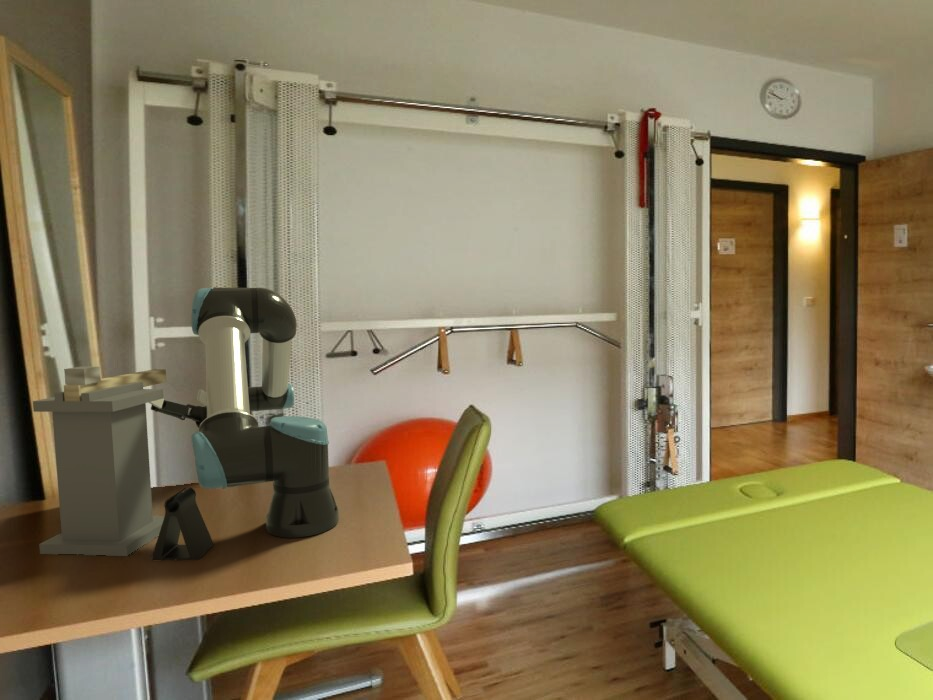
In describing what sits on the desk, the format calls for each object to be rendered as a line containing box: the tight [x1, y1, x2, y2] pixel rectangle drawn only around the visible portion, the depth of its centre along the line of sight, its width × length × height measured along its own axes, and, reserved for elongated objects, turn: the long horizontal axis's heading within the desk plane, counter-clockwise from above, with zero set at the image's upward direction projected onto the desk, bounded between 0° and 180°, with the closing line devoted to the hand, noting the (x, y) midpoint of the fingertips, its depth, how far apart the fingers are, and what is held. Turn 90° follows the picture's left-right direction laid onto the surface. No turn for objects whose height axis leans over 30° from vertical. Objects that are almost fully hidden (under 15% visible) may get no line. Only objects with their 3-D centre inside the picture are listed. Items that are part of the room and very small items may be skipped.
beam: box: [63, 366, 167, 401], centre depth 116 cm, size 26×4×6 cm, turn 175°
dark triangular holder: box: [151, 487, 214, 561], centre depth 106 cm, size 9×6×12 cm, turn 90°
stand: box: [32, 382, 165, 557], centre depth 112 cm, size 15×18×32 cm
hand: (172, 394), depth 134 cm, fingers open, 13 cm apart
